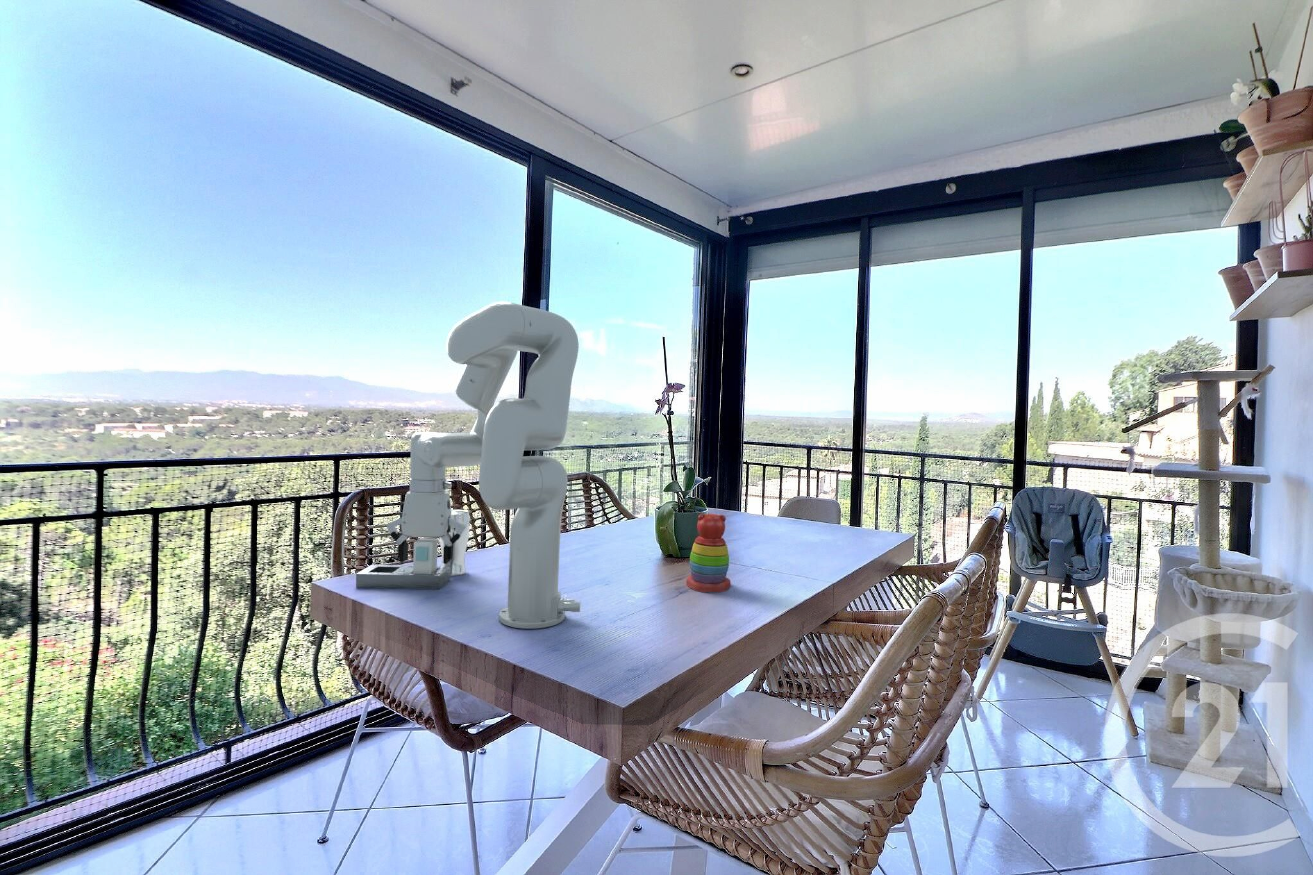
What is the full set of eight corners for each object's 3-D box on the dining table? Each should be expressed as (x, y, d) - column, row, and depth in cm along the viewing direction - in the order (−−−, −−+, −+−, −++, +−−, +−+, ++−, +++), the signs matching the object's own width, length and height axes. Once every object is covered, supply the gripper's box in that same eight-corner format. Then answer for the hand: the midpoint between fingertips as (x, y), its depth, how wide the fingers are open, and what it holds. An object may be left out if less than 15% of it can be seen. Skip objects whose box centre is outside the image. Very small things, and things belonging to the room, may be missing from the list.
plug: (436, 581, 138) (437, 538, 137) (429, 587, 133) (430, 543, 133) (418, 581, 138) (420, 538, 137) (411, 587, 133) (412, 542, 132)
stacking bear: (730, 583, 148) (733, 511, 147) (731, 595, 138) (735, 518, 137) (686, 580, 149) (690, 509, 148) (684, 591, 139) (688, 515, 138)
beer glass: (462, 577, 142) (464, 514, 142) (433, 575, 142) (435, 513, 142) (471, 569, 149) (473, 510, 149) (444, 568, 149) (446, 509, 149)
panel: (449, 579, 140) (450, 566, 140) (439, 589, 132) (439, 576, 132) (371, 577, 139) (371, 564, 139) (355, 587, 131) (356, 573, 131)
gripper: (470, 486, 139) (468, 558, 140) (394, 483, 138) (392, 556, 139) (461, 490, 132) (459, 567, 132) (381, 487, 131) (379, 564, 131)
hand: (425, 561), depth 135 cm, fingers open, 9 cm apart
